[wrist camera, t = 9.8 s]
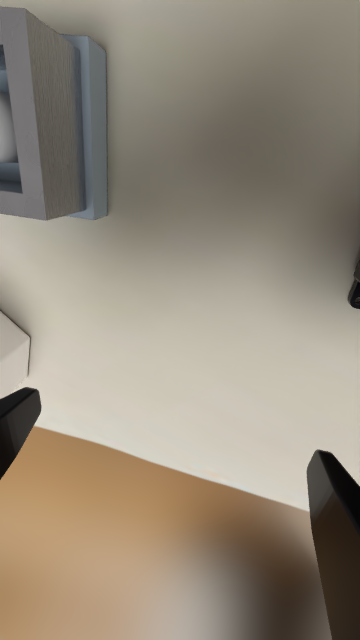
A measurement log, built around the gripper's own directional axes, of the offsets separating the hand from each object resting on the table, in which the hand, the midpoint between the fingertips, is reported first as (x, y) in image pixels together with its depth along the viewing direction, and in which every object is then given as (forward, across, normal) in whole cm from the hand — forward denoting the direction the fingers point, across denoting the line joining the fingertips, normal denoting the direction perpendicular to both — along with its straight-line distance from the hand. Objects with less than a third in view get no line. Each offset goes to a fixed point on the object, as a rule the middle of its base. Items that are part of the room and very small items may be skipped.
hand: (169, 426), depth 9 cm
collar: (+10, +11, -8) cm, 17 cm away
